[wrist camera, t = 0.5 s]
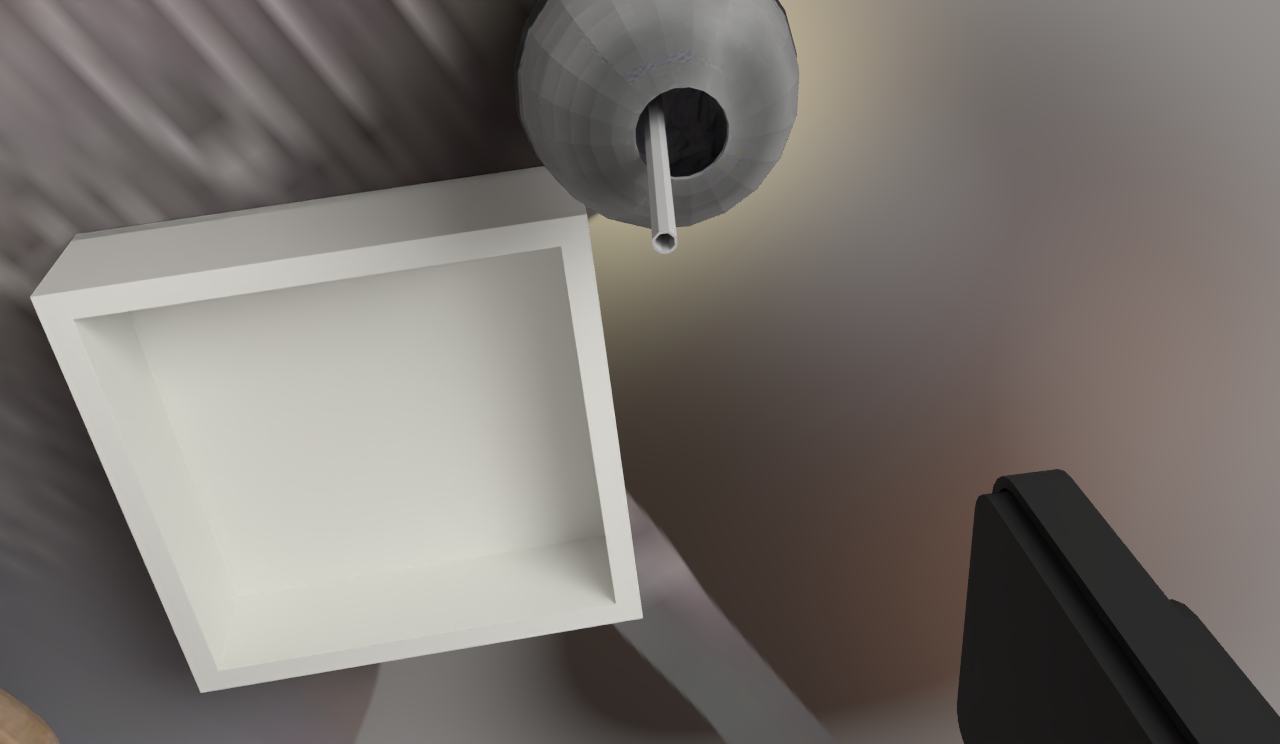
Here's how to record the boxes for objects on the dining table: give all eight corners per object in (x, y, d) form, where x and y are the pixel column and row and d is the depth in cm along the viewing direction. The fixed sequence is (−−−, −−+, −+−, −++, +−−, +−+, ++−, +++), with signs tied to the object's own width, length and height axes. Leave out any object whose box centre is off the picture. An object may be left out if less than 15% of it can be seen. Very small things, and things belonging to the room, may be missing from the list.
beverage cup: (749, 26, 40) (958, 270, 23) (569, 128, 41) (641, 434, 24) (654, -175, 36) (818, -62, 19) (459, -58, 37) (451, 147, 20)
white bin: (75, 234, 41) (29, 297, 36) (574, 161, 42) (586, 214, 37) (223, 607, 50) (200, 693, 46) (628, 541, 51) (642, 618, 47)
